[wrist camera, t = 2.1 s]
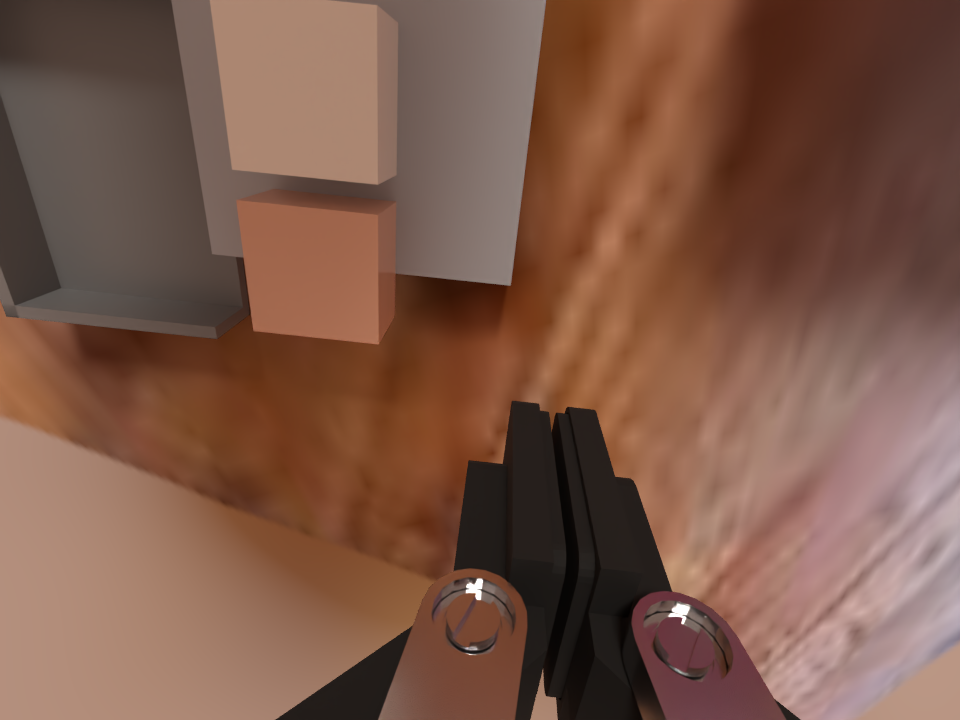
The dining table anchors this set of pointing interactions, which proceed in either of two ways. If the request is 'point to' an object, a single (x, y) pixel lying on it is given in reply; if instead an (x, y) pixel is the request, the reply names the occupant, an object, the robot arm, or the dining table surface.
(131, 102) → the tray
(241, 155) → the beige square block
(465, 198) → the slate board
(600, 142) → the dining table surface
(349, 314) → the salmon square block
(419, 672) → the robot arm
